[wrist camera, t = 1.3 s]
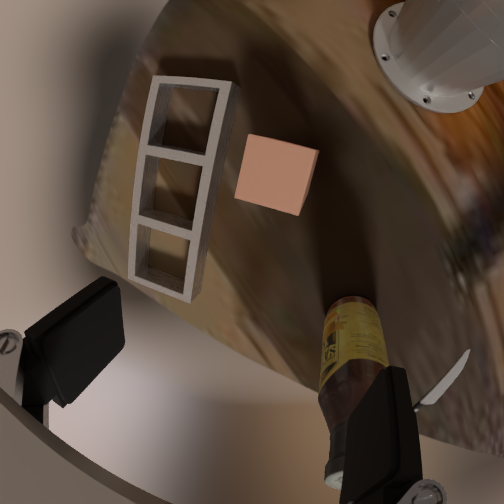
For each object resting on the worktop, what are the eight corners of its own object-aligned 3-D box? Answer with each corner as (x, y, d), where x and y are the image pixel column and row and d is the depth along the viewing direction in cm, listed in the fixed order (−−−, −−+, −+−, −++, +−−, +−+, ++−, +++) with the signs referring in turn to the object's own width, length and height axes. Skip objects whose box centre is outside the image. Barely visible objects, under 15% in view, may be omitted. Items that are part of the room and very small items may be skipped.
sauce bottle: (322, 294, 31) (303, 456, 13) (379, 290, 29) (413, 449, 11) (325, 342, 33) (306, 495, 15) (376, 339, 31) (391, 492, 13)
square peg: (275, 138, 27) (248, 133, 18) (319, 150, 26) (316, 150, 17) (264, 181, 29) (234, 197, 19) (307, 193, 28) (298, 215, 19)
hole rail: (167, 80, 27) (153, 75, 24) (241, 87, 26) (231, 81, 23) (141, 269, 36) (128, 278, 33) (200, 291, 35) (190, 303, 32)
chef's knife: (485, 343, 28) (474, 337, 28) (488, 348, 27) (477, 342, 27) (403, 428, 36) (390, 425, 36) (404, 433, 35) (391, 430, 35)
